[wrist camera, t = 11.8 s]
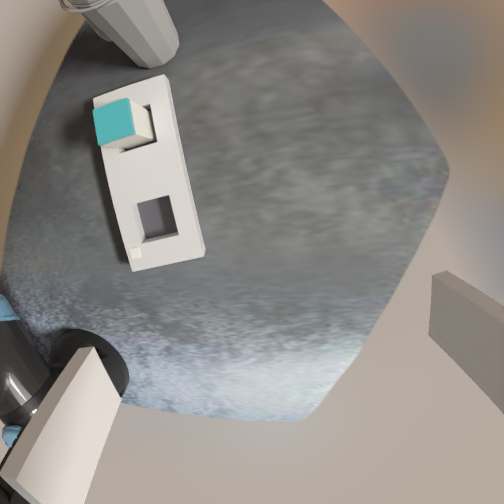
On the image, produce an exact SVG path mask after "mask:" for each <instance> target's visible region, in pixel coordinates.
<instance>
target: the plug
mask: <svg viewBox="0 0 504 504" xmlns="http://www.w3.org/2000/svg"><path fill="white" fill-rule="evenodd" d="M93 117H94V123H95V129H96V135H97V141H98V145H101V146H110V147H118V148H127V149H130V148H133V147H136V146H139V145H143V144H146V143H149V142H153V141H156V135H155V130H154V125H153V120H152V115H151V112H150V111H148V110H146V109H145V108H143V107H142V106H140V105H138V104H137V103H135V102H133V101H132V100H130V99H128V98H124V99H122V98H121V97H120V98H117V99H114V100H111V101H108V102H106V103H104V106H102V107H99V108H97V109H94V110H93Z"/></svg>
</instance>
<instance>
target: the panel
mask: <svg viewBox="0 0 504 504" xmlns="http://www.w3.org/2000/svg"><path fill="white" fill-rule="evenodd" d="M120 97H121V98H122V99H124V98H128V99H130V100H132V101H133V102H135V103H137V104H138V105H140V106H142V107H143V108H145V109H146V110H148V111H150V112H151V115H152V120H153V125H154V130H155V135H156V141H153V142H149V143H146V144H143V145H139V146H136V147H133V148H130V149H127V148H118V147H110V146H101V151H102V156H103V161H104V166H105V170H106V175H107V180H108V184H109V188H110V193H111V197H112V201H113V205H114V209H115V213H116V217H117V220H118V224H119V228H120V232H121V235H122V239H123V242H124V246H125V249H126V252H127V256H128V259H129V262H130V265H131V269H132V272H134V271H139V270H143V269H148V268H153V267H157V266H162V265H167V264H171V263H176V262H181V261H185V260H190V259H195V258H199V257H204V254H205V246H204V242H203V238H202V234H201V230H200V225H199V221H198V217H197V213H196V209H195V204H194V200H193V196H192V191H191V187H190V182H189V178H188V173H187V169H186V164H185V159H184V155H183V150H182V145H181V140H180V136H179V131H178V126H177V121H176V116H175V111H174V105H173V100H172V95H171V90H170V84H169V80H168V79H167V77H166V76H165V75H160V76H157V77H153V78H150V79H147V80H144V81H140V82H137V83H134V84H131V85H128V86H125V87H123V88H120V89H117V90H114V91H111V92H109V93H106V94H103V95H101V96H98V97H96V98H93V103H94V109H97V108H99V107H102V106H104V103H106V102H108V101H111V100H114V99H117V98H120Z"/></svg>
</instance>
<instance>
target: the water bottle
mask: <svg viewBox="0 0 504 504" xmlns="http://www.w3.org/2000/svg"><path fill="white" fill-rule="evenodd" d="M68 1H69V2H70V3H71V4H72V5H73V6H75V7H77V9H78V10H77V9H71V8H68V7H67V6H66V5H65V4H64V2H63V0H59V2H60V5H61V7H62V8H63V9H64V10H66V11H67V12H69V13H81V14H82V15H83V16H84V17H85V19H86V20H87V21H88V23H89V24H90V25H91V27H92V28H93V29H94V30H95V32H96V33H97V34H98V35H99V36H100V37H101V38H103V39H104V40H106V41H113V42H114V43H115V44H116V45H117V46H118V47H119V48H120V49H122V50H123V51H124V52H125V53H126V54H127V55H128V56H129V57H130V58H131V59H132V60H133V61H134V62H135V63H136V64H137V65H138V66H140V67H145V68H150V69H151V68H154V67H157V66H161V65H164V64H165V63H166V62H168V61H169V60H170V59H171V58H172V57H174V56H175V53H176V51H177V49H178V47H179V39H178V34H177V31H176V29H175V27H174V24H173V22H172V20H171V18H170V15H169V13H168V11H167V8H166V6H165V4H164V2H163V0H68ZM98 27H99V28H100V29H101V30H102V31H103V32H104V33H103V32H102V31H101V30H100V29H99V28H98Z"/></svg>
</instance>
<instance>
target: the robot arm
mask: <svg viewBox="0 0 504 504" xmlns="http://www.w3.org/2000/svg"><path fill="white" fill-rule="evenodd" d="M20 320H21V319H20V317H19V316H17V315H16V313H15V312H14V310H13V309H12V307H11V305H10V304H9V302H8V300H7V299H6V298H5V297H4V296H3V295H2V294H0V420H1V421H2V422H3V423H4V424H5V427H4V428H3V432H2V438H3V440H4V441H5V444H6V445H7V447H8V448H9V450H8V452H7V453H6V455H5V457H4V459H3V460H2V462H1V464H0V504H84V502H85V499H86V496H87V493H88V490H89V487H90V484H91V481H92V478H93V475H94V472H95V469H96V466H97V464H98V461H99V458H100V455H101V452H102V450H103V447H104V444H105V441H106V439H107V436H108V433H109V431H110V428H111V425H112V423H113V420H114V418H115V415H116V413H117V410H118V407H119V405H120V402H121V400H122V399H121V397H122V396H123V394H124V393H125V390H126V388H127V385H128V382H129V373H128V369H127V366H126V363H125V362H124V360H123V358H122V357H121V355H120V354H119V353H118V351H117V350H116V349H115V348H114V347H113V346H112V345H111V344H110V343H108V342H107V341H106V340H104V339H103V338H101V337H99V336H97V335H95V334H93V333H90V332H87V331H83V330H71V331H67V332H65V333H63V334H62V335H61V336H60V337H59V338H58V339H57V340H56V341H55V343H54V344H53V346H52V348H51V351H50V358H49V361H48V363H47V362H46V360H45V359H44V358H43V356H42V355H41V353H40V352H39V350H38V349H37V347H36V346H35V344H34V342H33V341H32V339H31V338H30V336H29V334H28V333H27V331H26V329H25V328H24V326H23V324H22V323H21V321H20ZM429 336H430V337H431V338H432V339H433V340H434V341H435V342H436V343H437V344H438V345H439V346H440V347H441V348H442V349H443V350H444V351H445V352H446V353H447V354H448V355H449V356H450V357H451V358H452V359H453V360H454V361H455V362H456V363H457V364H458V365H459V366H460V367H461V368H462V369H463V370H464V371H465V372H466V374H467V375H468V376H469V377H470V378H471V379H472V380H473V381H474V382H475V383H476V384H477V385H478V386H479V387H480V388H481V389H482V391H484V392H485V394H486V395H487V396H488V397H489V398H490V399H491V400H492V401H493V403H494V404H495V405H496V406H497V407H498V408H499V409H500V410H501V411H502V412H503V414H504V306H503V305H502V304H500V303H498V302H497V301H495V300H494V299H492V298H491V297H489V296H488V295H486V294H484V293H483V292H481V291H480V290H478V289H476V288H475V287H473V286H471V285H470V284H468V283H466V282H465V281H463V280H462V279H460V278H458V277H457V276H455V275H453V274H451V273H449V272H448V271H444V272H441V273H438V274H435V275H432V292H431V309H430V322H429Z"/></svg>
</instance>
